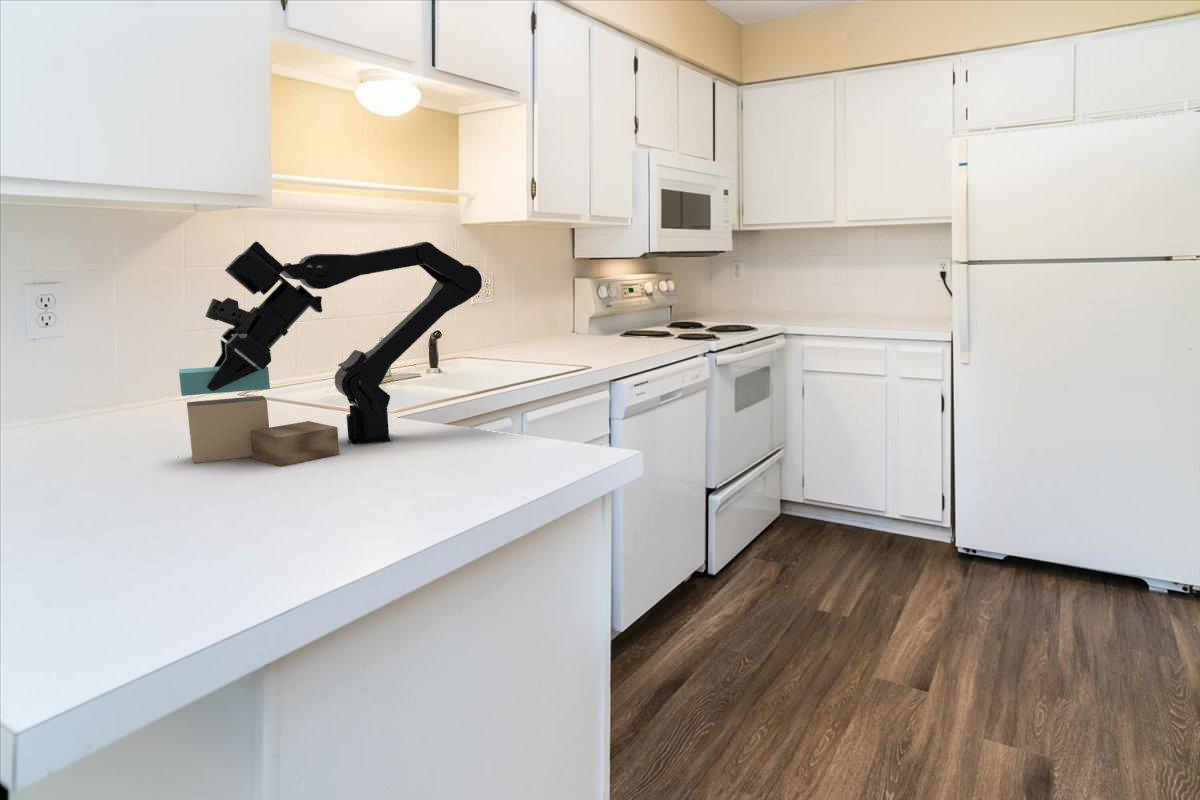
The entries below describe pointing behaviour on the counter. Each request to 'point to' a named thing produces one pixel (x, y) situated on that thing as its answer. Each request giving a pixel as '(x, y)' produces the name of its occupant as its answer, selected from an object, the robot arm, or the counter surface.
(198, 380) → the lid
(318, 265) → the robot arm
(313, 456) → the walnut block
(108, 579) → the counter surface
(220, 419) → the box
